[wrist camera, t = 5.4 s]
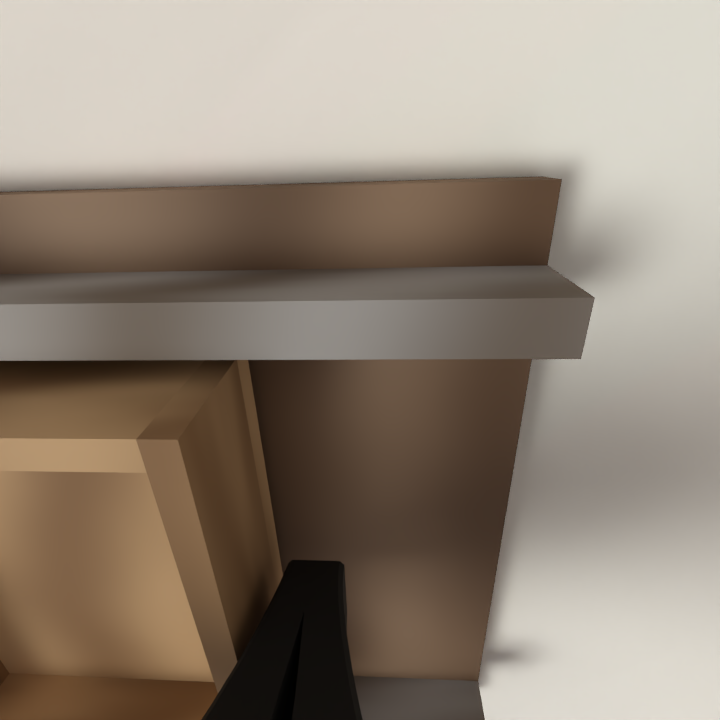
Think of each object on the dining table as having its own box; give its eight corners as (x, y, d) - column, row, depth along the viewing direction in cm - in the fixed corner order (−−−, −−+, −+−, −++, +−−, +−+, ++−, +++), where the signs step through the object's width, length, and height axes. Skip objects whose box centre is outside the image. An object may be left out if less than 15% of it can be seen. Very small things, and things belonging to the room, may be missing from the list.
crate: (245, 346, 9) (178, 439, 6) (298, 675, 14) (277, 810, 11) (-198, 348, 9) (-457, 434, 6) (13, 663, 15) (-78, 788, 12)
